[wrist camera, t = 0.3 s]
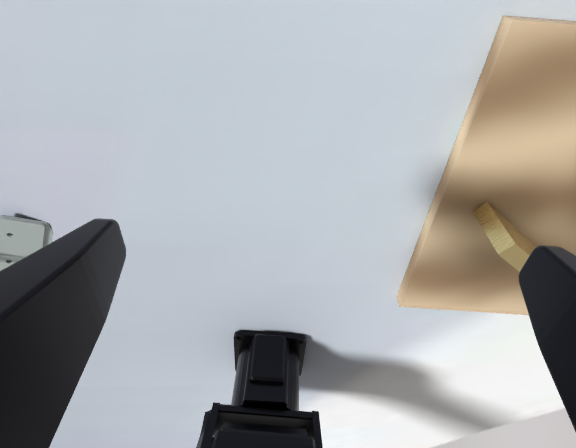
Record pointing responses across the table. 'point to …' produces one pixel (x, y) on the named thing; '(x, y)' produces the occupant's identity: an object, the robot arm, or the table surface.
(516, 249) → the olive tan bar
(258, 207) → the table surface
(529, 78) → the oak board
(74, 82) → the table surface
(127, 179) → the table surface
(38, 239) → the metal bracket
